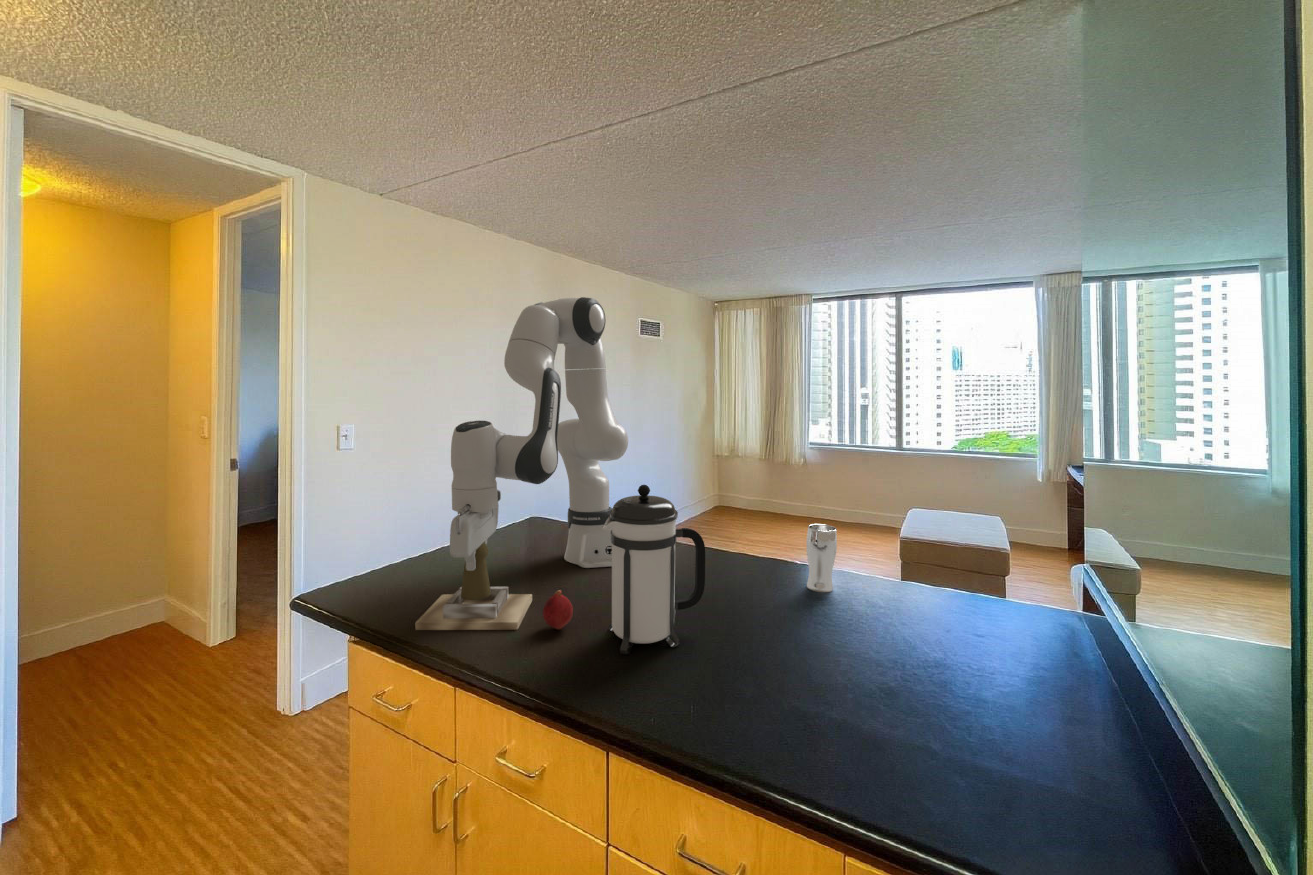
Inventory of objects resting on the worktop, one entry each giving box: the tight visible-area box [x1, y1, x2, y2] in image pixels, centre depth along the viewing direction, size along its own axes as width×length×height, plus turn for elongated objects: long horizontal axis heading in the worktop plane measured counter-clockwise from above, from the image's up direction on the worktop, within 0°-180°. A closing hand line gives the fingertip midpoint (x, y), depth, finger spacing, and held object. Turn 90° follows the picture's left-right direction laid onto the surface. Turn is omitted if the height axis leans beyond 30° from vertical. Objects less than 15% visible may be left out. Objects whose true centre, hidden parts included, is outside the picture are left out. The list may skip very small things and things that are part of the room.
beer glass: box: [806, 523, 838, 594], centre depth 125 cm, size 7×7×15 cm
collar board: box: [414, 586, 533, 631], centre depth 109 cm, size 20×14×4 cm
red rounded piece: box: [542, 589, 574, 631], centre depth 103 cm, size 6×6×8 cm
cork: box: [461, 543, 491, 600], centre depth 109 cm, size 6×6×11 cm
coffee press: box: [603, 484, 706, 655], centre depth 99 cm, size 17×16×30 cm
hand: (475, 564), depth 109 cm, fingers closed on cork, 4 cm apart
